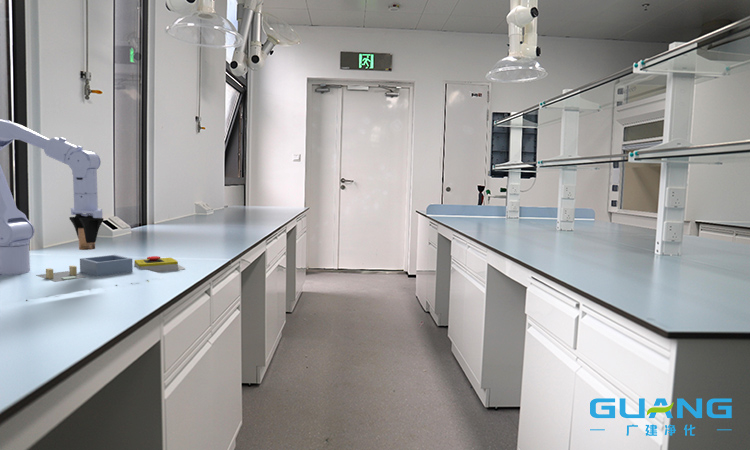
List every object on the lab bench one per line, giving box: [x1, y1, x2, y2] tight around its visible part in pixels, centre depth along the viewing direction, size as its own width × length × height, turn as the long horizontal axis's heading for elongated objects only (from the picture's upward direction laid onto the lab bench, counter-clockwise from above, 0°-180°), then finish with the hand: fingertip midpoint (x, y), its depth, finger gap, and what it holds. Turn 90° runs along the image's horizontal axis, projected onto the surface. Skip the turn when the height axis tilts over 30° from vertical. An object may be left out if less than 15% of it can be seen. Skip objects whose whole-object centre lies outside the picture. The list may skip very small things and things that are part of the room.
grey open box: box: [79, 254, 134, 277], centre depth 138 cm, size 10×10×5 cm
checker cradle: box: [35, 265, 87, 283], centre depth 130 cm, size 12×8×4 cm, turn 56°
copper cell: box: [77, 227, 96, 251], centre depth 133 cm, size 4×4×6 cm
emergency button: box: [133, 255, 186, 273], centre depth 150 cm, size 9×4×15 cm
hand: (87, 241), depth 133 cm, fingers closed on copper cell, 4 cm apart
